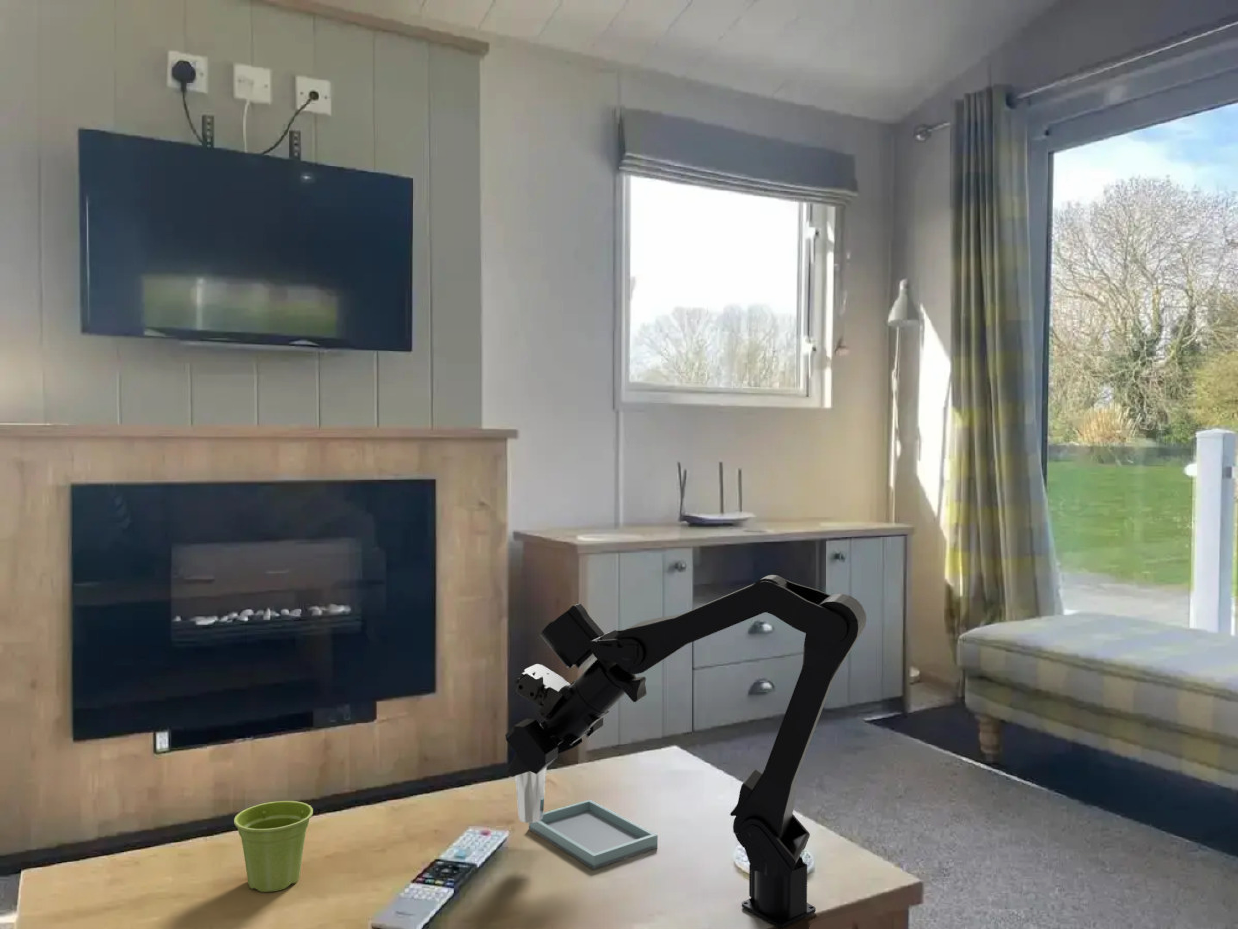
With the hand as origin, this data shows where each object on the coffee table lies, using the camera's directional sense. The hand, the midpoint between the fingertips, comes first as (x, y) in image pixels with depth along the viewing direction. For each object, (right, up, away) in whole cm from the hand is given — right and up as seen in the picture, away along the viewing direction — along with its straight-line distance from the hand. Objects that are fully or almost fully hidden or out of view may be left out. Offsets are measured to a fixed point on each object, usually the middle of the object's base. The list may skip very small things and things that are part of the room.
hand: (518, 767), depth 124 cm
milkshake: (+1, -7, 0) cm, 7 cm away
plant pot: (-31, -12, -7) cm, 34 cm away
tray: (+10, -12, +6) cm, 17 cm away
